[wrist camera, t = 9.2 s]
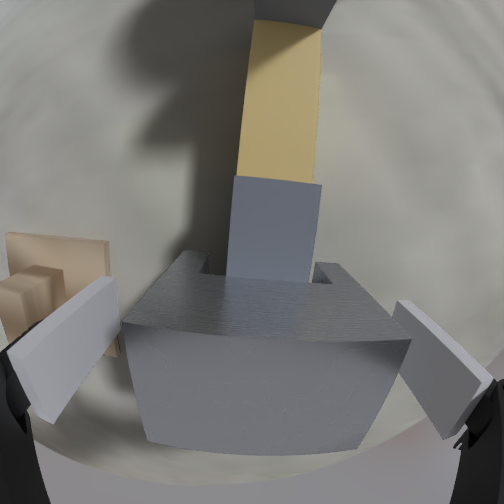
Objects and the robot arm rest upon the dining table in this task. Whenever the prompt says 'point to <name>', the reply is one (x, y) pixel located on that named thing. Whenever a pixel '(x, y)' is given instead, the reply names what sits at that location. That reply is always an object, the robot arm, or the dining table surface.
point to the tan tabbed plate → (48, 278)
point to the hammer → (279, 144)
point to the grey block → (260, 360)
